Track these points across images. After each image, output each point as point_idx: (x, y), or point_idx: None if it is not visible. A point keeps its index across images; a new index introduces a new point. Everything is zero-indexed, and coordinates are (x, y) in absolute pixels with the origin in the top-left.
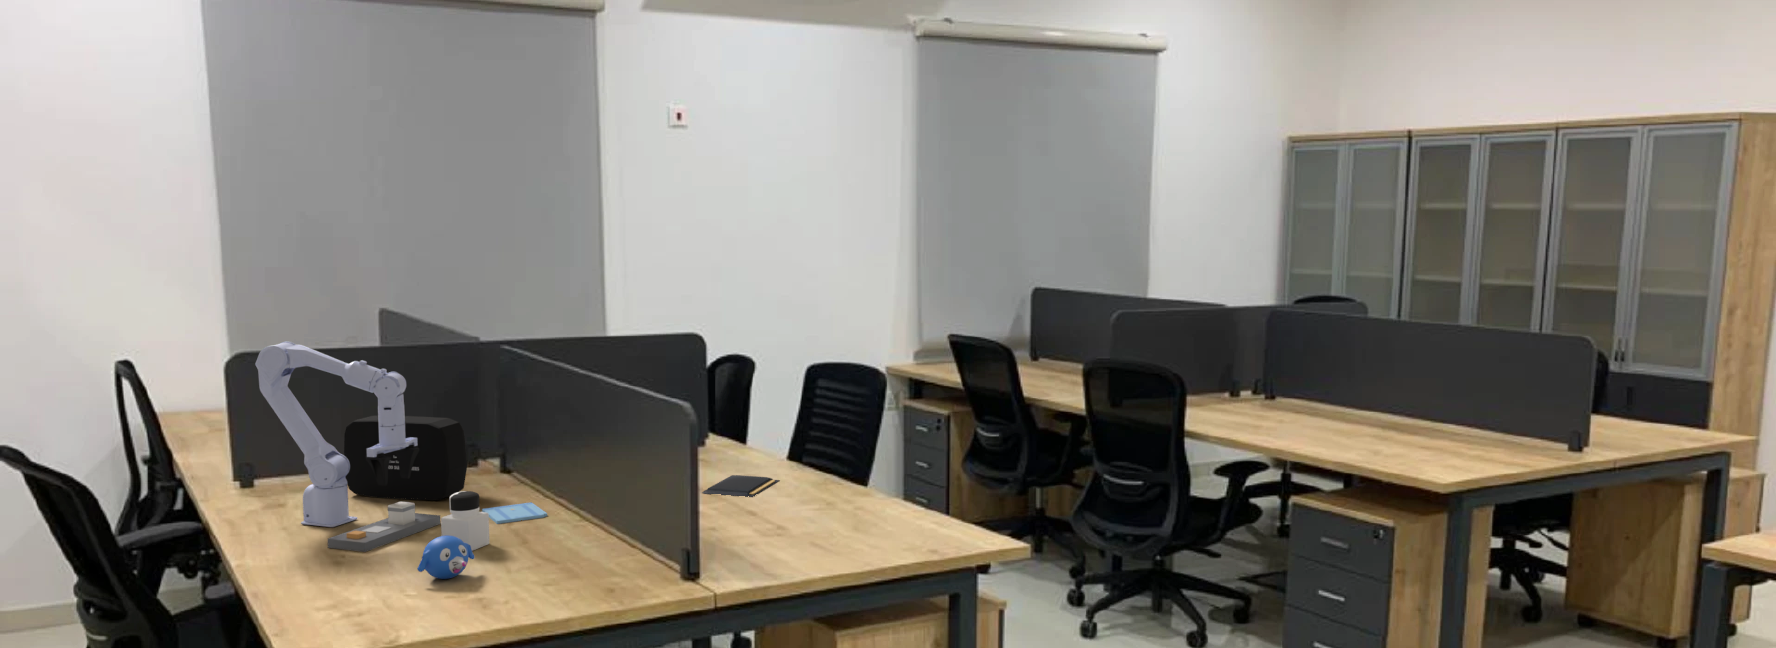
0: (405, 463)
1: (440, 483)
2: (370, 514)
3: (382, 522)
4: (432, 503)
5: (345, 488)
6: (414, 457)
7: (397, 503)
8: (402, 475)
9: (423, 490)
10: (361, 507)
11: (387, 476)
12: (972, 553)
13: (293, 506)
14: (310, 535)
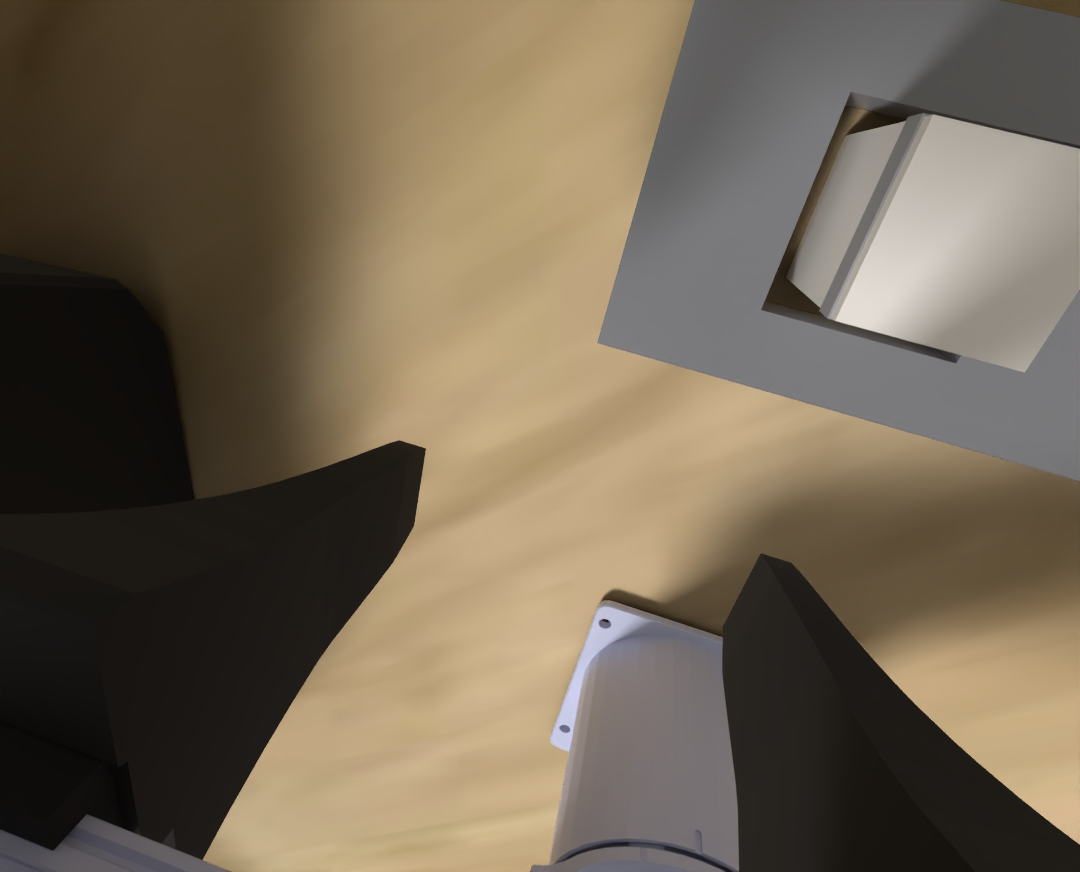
0: (318, 582)
1: (48, 325)
2: (487, 573)
3: (934, 377)
4: (203, 341)
5: (664, 820)
6: (180, 518)
7: (930, 312)
8: (404, 525)
9: (129, 436)
10: (373, 649)
11: (800, 614)
12: None
13: (415, 857)
14: (938, 709)
